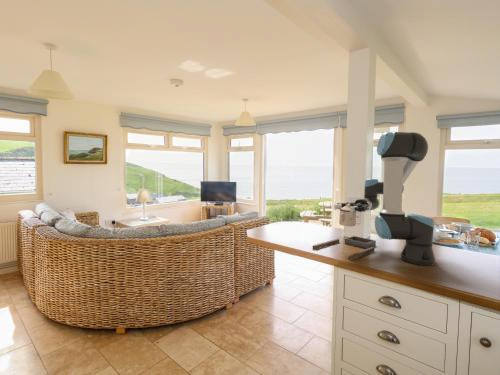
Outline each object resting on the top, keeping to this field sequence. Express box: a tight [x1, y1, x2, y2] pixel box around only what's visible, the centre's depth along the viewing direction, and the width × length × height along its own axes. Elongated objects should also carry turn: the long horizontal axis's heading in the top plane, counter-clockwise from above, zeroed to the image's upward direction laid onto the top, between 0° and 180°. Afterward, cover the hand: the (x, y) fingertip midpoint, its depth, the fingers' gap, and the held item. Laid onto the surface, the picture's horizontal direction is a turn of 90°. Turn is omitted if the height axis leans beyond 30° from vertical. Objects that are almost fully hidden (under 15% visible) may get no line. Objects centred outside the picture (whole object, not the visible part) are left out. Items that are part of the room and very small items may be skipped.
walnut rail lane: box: [312, 238, 376, 261], centre depth 158 cm, size 24×25×2 cm
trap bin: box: [344, 235, 377, 249], centre depth 171 cm, size 14×11×3 cm
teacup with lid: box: [339, 204, 357, 227], centre depth 158 cm, size 12×9×12 cm
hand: (342, 208), depth 155 cm, fingers closed on teacup with lid, 9 cm apart
